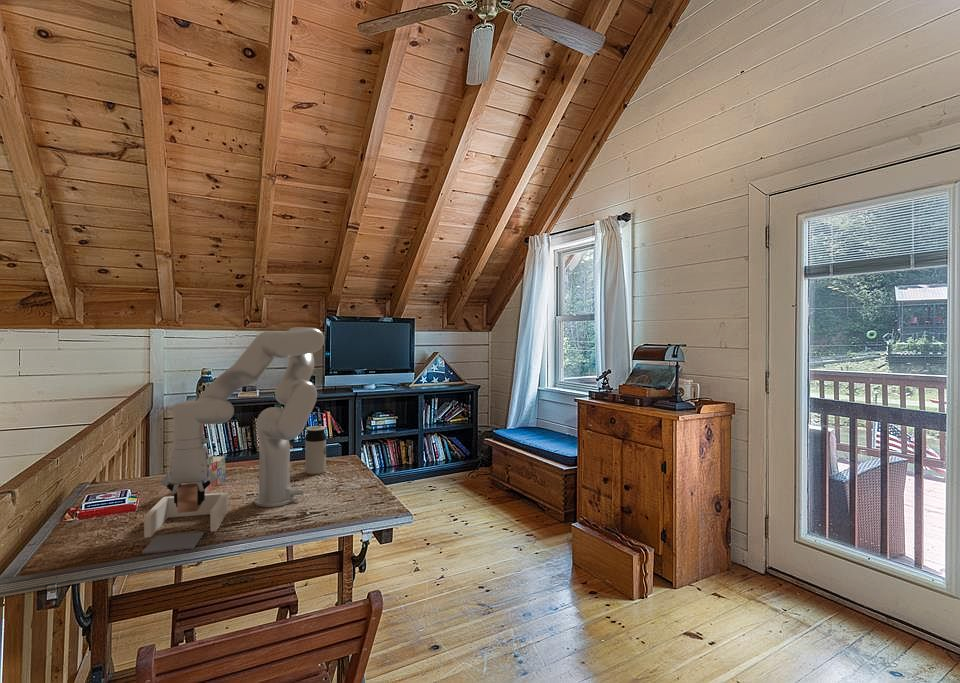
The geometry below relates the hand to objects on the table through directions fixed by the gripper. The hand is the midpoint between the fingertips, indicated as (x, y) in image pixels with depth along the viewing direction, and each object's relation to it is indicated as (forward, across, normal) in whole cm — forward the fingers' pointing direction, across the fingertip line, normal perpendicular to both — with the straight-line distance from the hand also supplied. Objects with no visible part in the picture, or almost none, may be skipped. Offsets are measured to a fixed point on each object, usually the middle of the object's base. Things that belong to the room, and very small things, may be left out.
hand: (189, 503), depth 145 cm
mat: (+6, 0, +13) cm, 15 cm away
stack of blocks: (+7, +4, -34) cm, 34 cm away
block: (+2, 0, 0) cm, 2 cm away
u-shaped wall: (+6, 0, -1) cm, 6 cm away
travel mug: (+7, -34, -47) cm, 58 cm away
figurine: (+7, -22, -51) cm, 56 cm away
